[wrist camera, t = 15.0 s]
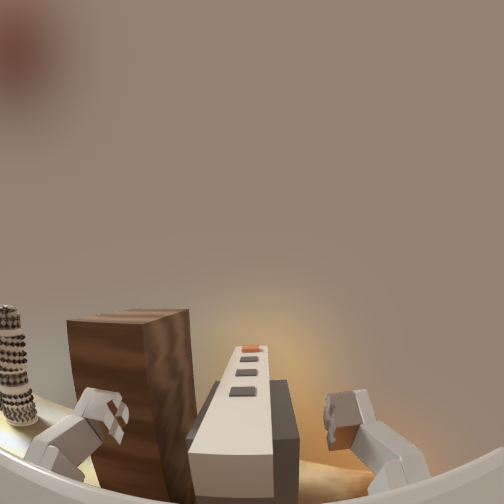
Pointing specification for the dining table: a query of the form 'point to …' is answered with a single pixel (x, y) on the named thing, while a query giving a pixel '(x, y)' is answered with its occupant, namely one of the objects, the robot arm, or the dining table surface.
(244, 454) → the power strip
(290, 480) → the dark grey block
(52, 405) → the dining table surface
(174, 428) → the walnut post
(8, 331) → the decorative candle
